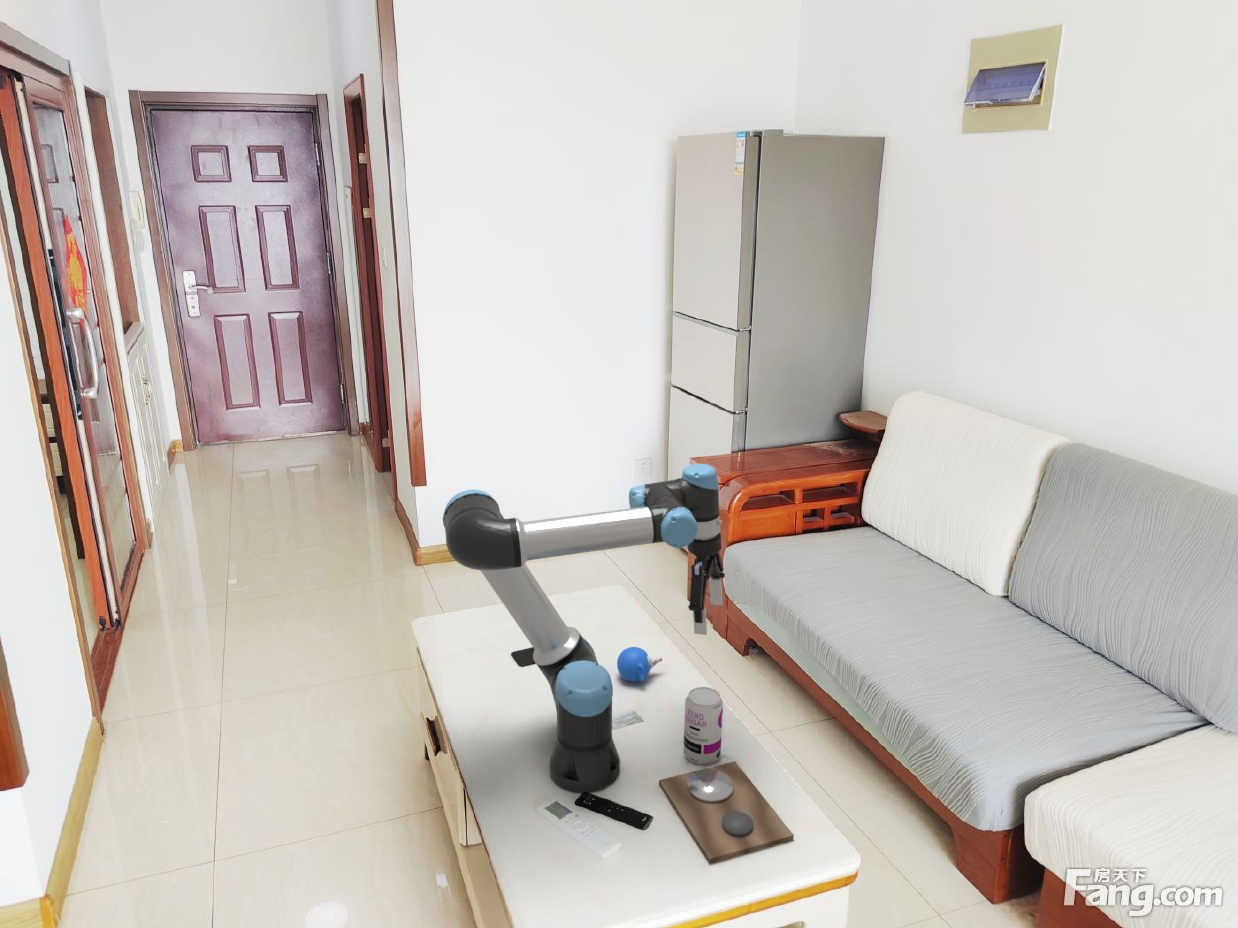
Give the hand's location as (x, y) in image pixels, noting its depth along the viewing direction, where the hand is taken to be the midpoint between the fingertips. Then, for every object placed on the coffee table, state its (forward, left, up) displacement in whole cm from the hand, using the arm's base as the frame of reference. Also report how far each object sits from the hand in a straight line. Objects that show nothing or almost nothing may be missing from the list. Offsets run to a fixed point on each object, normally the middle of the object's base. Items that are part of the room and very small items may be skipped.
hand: (708, 618), depth 201 cm
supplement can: (-7, -13, -26) cm, 30 cm away
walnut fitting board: (-11, -31, -26) cm, 42 cm away
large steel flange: (-11, -25, -25) cm, 37 cm away
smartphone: (-28, +41, -26) cm, 56 cm away
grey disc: (-11, -37, -25) cm, 46 cm away
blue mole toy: (-8, +21, -26) cm, 34 cm away
